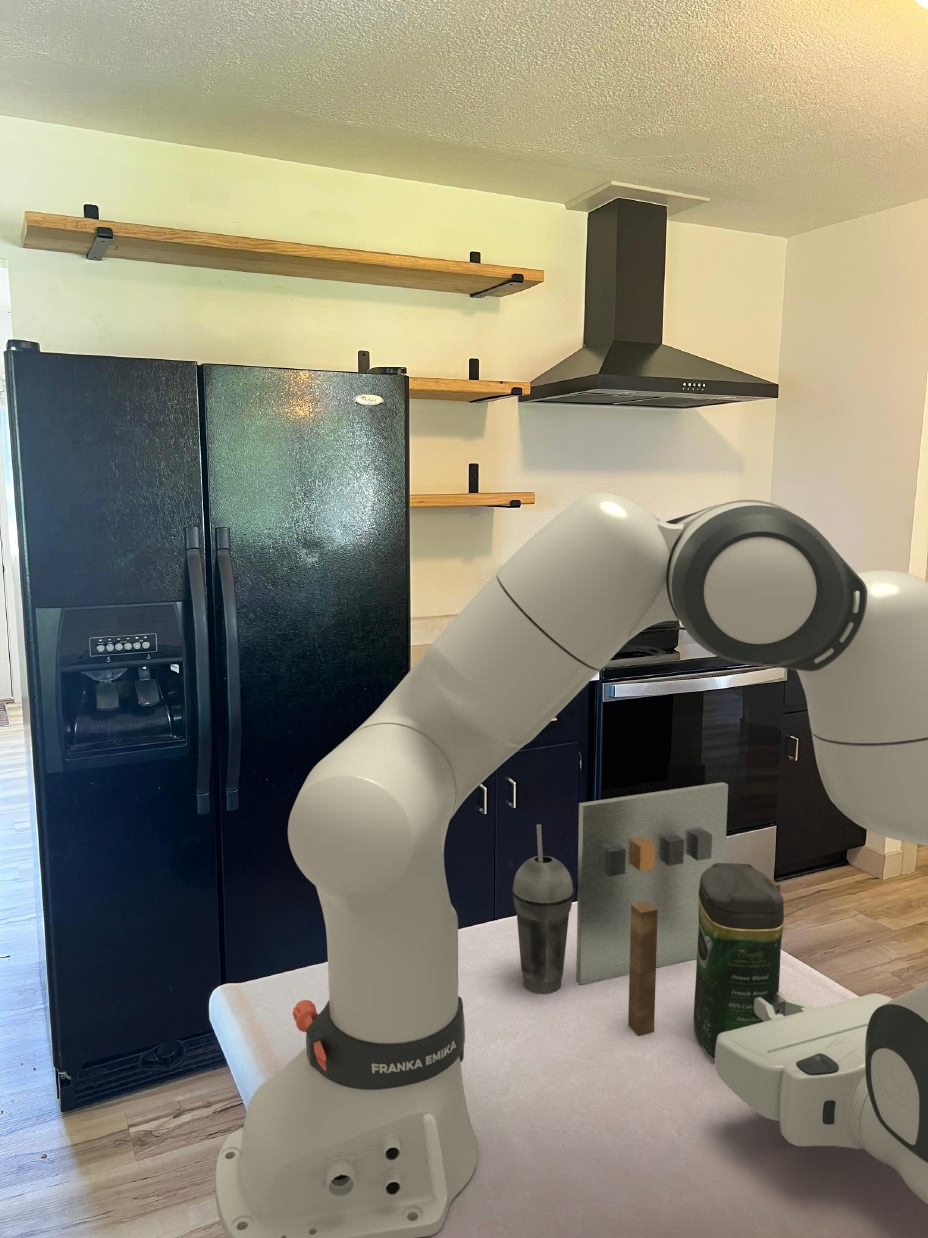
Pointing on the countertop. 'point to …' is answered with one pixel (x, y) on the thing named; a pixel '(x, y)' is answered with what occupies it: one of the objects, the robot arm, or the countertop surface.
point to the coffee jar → (735, 948)
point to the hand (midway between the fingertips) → (765, 1001)
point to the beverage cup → (542, 919)
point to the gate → (644, 966)
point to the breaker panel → (644, 873)
